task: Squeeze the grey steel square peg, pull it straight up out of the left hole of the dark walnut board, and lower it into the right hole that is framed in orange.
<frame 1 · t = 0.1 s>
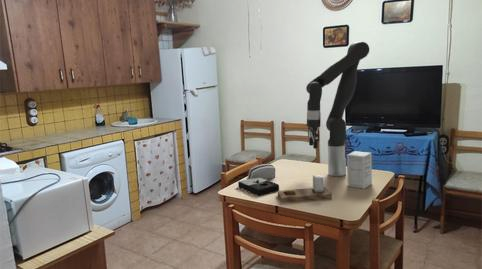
hand: (313, 146, 205), 17 cm above the table, tool pointing down, fingers open, 8 cm apart
multimeter: (258, 189, 193), on the table
hole board: (304, 197, 176), on the table
supplement box: (359, 185, 189), on the table
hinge: (261, 180, 208), on the table
steel peg: (318, 196, 177), resting in hole board
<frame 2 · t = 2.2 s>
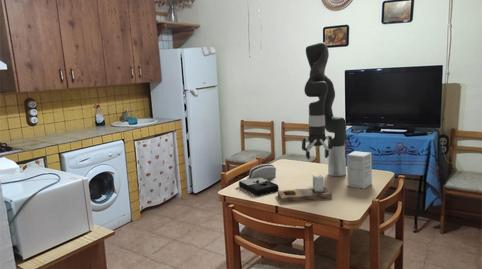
hand: (317, 158, 173), 19 cm above the table, tool pointing down, fingers open, 8 cm apart
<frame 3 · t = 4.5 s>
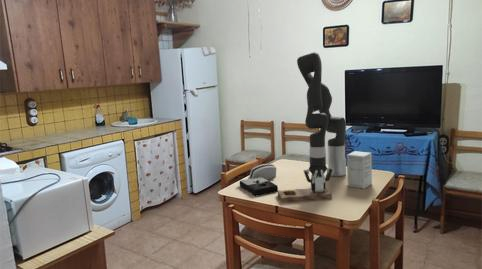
hand: (318, 189, 176), 3 cm above the table, tool pointing down, fingers closed on steel peg, 4 cm apart
steel peg: (318, 196, 177), resting in hole board, touching gripper
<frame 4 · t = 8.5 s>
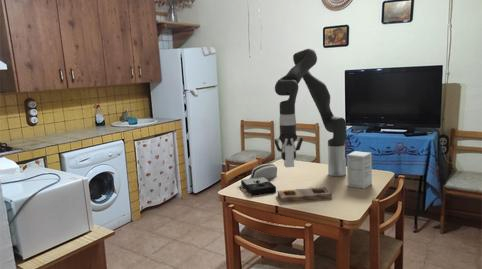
hand: (288, 159, 172), 19 cm above the table, tool pointing down, fingers closed on steel peg, 4 cm apart
steel peg: (289, 166, 173), point 16 cm above the table, touching gripper
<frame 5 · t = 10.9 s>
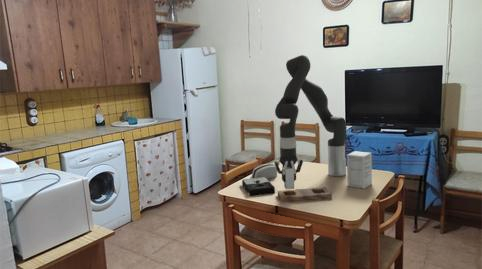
hand: (289, 181, 174), 9 cm above the table, tool pointing down, fingers closed on steel peg, 4 cm apart
steel peg: (289, 187, 175), point 5 cm above the table, touching gripper
when the fingers open (5 cm above the table, at t = 12.8 s): steel peg drops 1 cm, resting in hole board.
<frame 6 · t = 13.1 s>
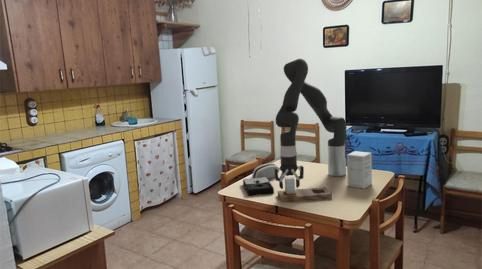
hand: (289, 187, 175), 5 cm above the table, tool pointing down, fingers open, 7 cm apart
steel peg: (290, 198, 176), resting in hole board
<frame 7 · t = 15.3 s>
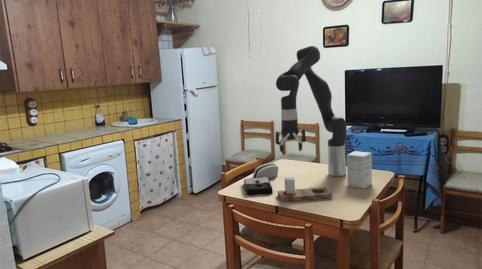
hand: (291, 151, 175), 22 cm above the table, tool pointing down, fingers open, 8 cm apart
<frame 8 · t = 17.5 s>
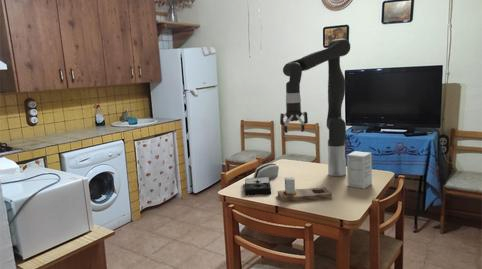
hand: (294, 132, 193), 28 cm above the table, tool pointing down, fingers open, 8 cm apart
at the end: steel peg 0.2 cm from the target spot on the hole board, point 0.0 cm above the hole board's base; steel peg tilted 0°; the gripper is holding nothing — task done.
